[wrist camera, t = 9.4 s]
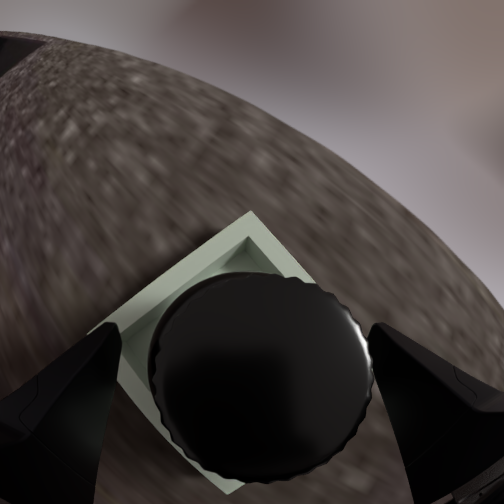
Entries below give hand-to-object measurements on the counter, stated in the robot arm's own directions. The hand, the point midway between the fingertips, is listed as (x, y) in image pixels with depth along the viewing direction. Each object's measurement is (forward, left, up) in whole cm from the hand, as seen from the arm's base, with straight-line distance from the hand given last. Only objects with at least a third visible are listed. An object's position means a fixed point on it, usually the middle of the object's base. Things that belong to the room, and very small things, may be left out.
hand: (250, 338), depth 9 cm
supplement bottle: (-1, -1, -8) cm, 9 cm away
